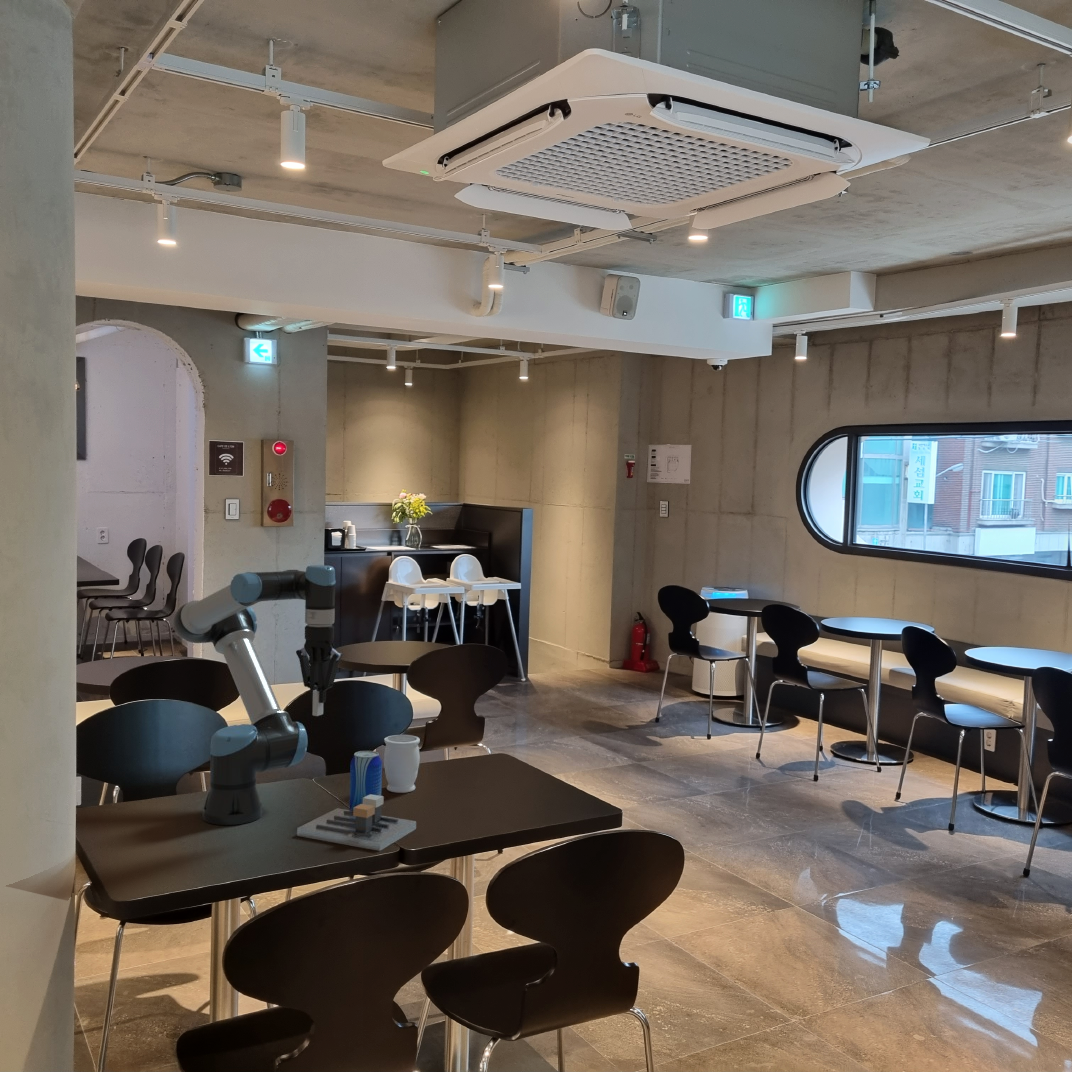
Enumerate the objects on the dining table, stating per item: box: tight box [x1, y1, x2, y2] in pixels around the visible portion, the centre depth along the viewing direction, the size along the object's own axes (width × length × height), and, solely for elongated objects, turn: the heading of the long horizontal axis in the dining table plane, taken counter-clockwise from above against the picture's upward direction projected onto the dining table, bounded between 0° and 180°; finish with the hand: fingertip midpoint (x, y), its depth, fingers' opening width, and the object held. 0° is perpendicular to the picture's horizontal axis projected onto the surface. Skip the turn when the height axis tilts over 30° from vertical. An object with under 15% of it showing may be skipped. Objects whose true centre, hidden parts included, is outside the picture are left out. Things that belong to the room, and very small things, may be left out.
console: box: [296, 807, 417, 852], centre depth 257 cm, size 24×18×3 cm
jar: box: [383, 734, 421, 794], centre depth 295 cm, size 11×10×15 cm
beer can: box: [349, 750, 383, 811], centre depth 273 cm, size 8×8×16 cm
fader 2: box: [353, 804, 375, 833], centre depth 251 cm, size 4×4×6 cm
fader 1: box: [363, 794, 385, 822], centre depth 259 cm, size 4×4×6 cm
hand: (317, 714), depth 263 cm, fingers closed
